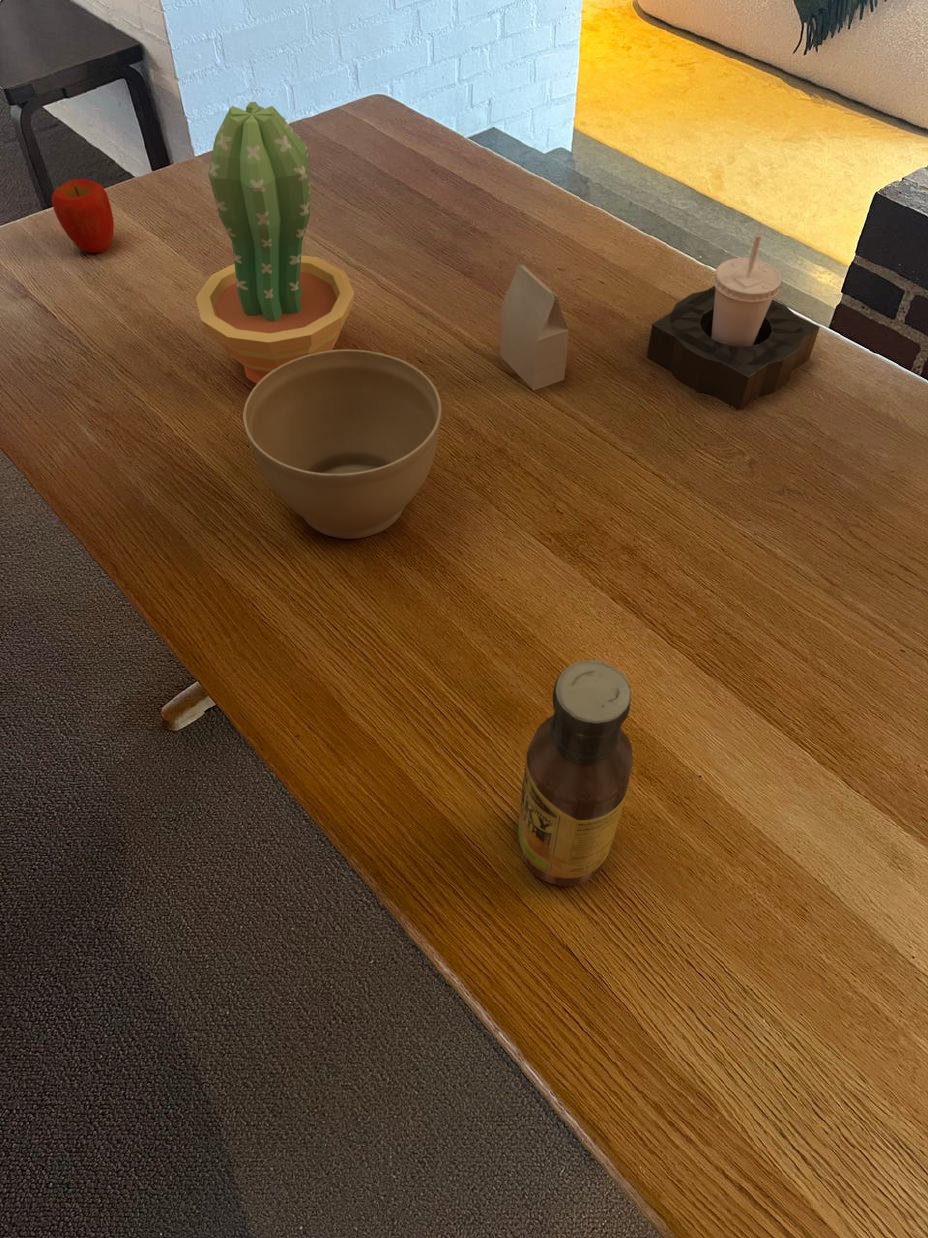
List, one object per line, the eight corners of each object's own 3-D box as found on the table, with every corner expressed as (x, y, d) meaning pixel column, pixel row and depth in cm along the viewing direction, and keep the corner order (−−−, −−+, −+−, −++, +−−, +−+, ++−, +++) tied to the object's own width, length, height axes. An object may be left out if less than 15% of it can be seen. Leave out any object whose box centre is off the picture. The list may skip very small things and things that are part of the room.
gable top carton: (533, 390, 97) (539, 303, 89) (499, 355, 100) (502, 268, 93) (564, 379, 98) (572, 292, 90) (529, 345, 102) (534, 258, 94)
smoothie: (692, 371, 99) (719, 244, 88) (701, 335, 103) (729, 210, 92) (755, 382, 98) (791, 255, 87) (762, 346, 101) (797, 220, 90)
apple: (64, 240, 115) (42, 178, 109) (115, 228, 117) (97, 167, 111) (74, 266, 111) (52, 203, 106) (127, 254, 113) (108, 192, 107)
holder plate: (715, 306, 106) (723, 273, 103) (818, 359, 100) (829, 326, 97) (637, 356, 100) (642, 323, 97) (741, 416, 94) (750, 383, 91)
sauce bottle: (512, 810, 67) (526, 637, 52) (600, 805, 68) (640, 630, 52) (522, 898, 63) (539, 738, 48) (615, 892, 64) (663, 731, 48)
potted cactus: (388, 343, 102) (370, 96, 82) (308, 428, 93) (267, 174, 74) (267, 305, 106) (223, 62, 87) (181, 383, 98) (110, 132, 78)
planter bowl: (382, 595, 80) (372, 501, 71) (228, 527, 85) (201, 431, 76) (475, 479, 89) (476, 383, 80) (330, 424, 94) (317, 327, 85)
